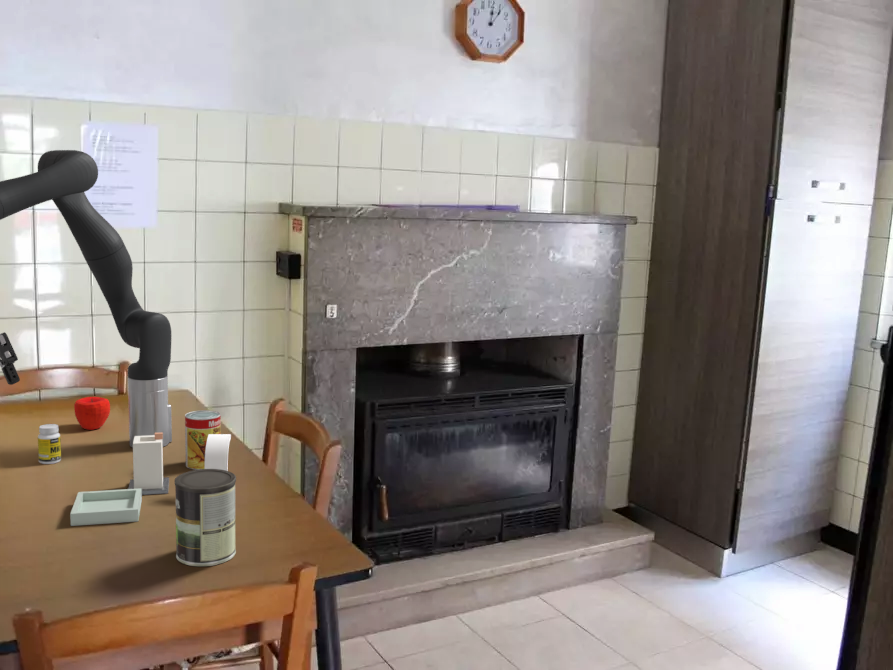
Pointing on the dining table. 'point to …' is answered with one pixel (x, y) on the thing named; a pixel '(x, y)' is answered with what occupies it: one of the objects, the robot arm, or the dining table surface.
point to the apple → (92, 412)
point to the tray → (106, 507)
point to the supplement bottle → (49, 444)
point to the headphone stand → (217, 451)
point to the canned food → (199, 435)
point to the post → (153, 491)
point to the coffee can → (205, 517)
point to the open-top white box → (148, 461)
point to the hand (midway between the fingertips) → (4, 382)
